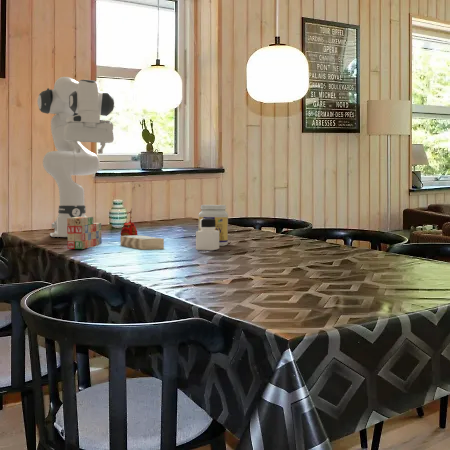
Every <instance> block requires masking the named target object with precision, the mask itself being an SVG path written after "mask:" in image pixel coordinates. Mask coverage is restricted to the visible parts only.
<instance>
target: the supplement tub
mask: <svg viewBox="0 0 450 450" xmlns="http://www.w3.org/2000/svg"><path fill="white" fill-rule="evenodd" d="M226 209H227V205H226V204H200V210H201V211H200V212H199V213H198V231H201V229H200V220H201V219H204V218H212V219H215V230H217V231H219V247H223V246H227V245H228V243H229V242H228V240H229V239H228V238H229V237H228V236H229V233H228V232H229V214H228V212H227V211H226Z"/></svg>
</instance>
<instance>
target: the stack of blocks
mask: <svg viewBox="0 0 450 450" xmlns="http://www.w3.org/2000/svg"><path fill="white" fill-rule="evenodd" d="M102 235H103V233H102V222H94V216H87V217H72V218H67V236H68V237H67V241H66V242H67V247H66V248H67V249H69V250H83V249H84V250H85V249H88V248H92V247H96V246H98V245H101V244H102Z"/></svg>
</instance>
